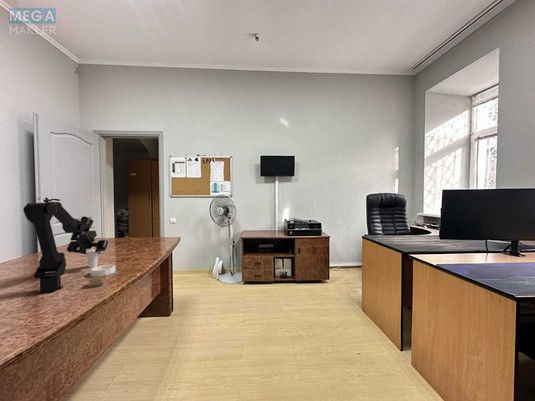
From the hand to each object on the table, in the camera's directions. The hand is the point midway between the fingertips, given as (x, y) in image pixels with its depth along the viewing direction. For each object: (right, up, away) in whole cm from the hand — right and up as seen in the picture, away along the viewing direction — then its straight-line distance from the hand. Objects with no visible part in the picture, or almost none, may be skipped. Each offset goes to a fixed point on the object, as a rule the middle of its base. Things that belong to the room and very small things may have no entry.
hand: (94, 253), depth 139 cm
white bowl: (+15, -7, -13) cm, 21 cm away
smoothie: (0, -8, -1) cm, 8 cm away
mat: (+15, -8, -13) cm, 21 cm away
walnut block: (+24, -8, -30) cm, 39 cm away
